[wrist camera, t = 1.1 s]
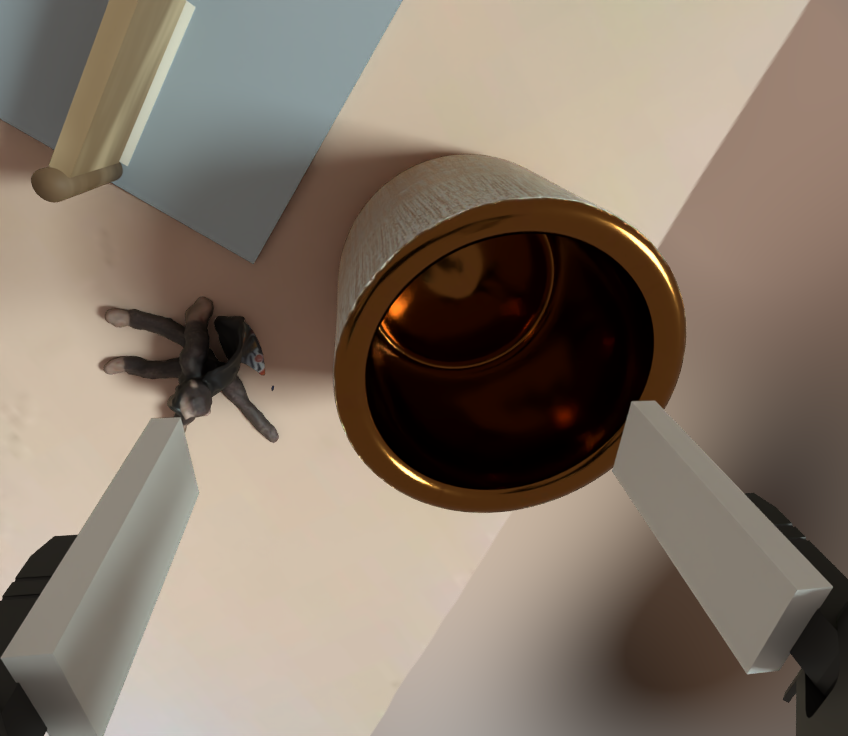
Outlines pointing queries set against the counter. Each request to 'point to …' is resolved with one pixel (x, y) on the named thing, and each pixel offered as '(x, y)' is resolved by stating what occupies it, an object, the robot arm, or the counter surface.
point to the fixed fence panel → (109, 97)
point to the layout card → (204, 99)
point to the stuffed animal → (197, 361)
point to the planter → (497, 335)
